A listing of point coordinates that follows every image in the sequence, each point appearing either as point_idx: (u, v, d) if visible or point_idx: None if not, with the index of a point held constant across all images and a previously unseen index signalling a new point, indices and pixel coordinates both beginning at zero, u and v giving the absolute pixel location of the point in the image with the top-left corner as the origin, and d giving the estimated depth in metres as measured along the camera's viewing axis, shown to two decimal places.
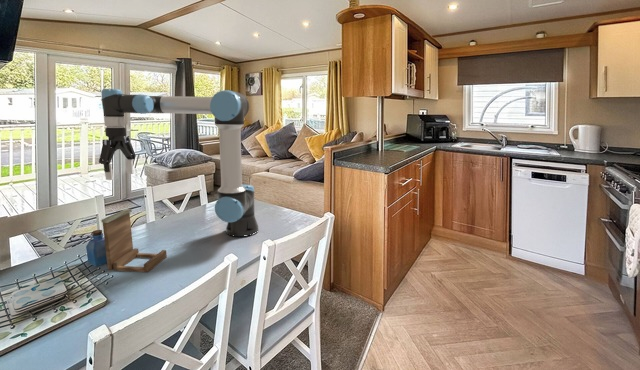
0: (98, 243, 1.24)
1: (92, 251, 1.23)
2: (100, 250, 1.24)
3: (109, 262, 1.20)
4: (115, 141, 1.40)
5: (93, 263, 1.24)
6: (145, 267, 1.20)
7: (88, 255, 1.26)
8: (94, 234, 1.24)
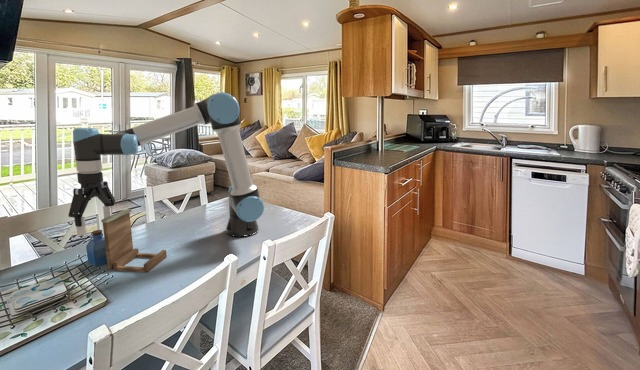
0: (98, 243, 1.24)
1: (92, 251, 1.23)
2: (100, 250, 1.24)
3: (109, 262, 1.20)
4: (89, 189, 1.19)
5: (93, 263, 1.24)
6: (145, 267, 1.20)
7: (88, 255, 1.26)
8: (94, 234, 1.24)
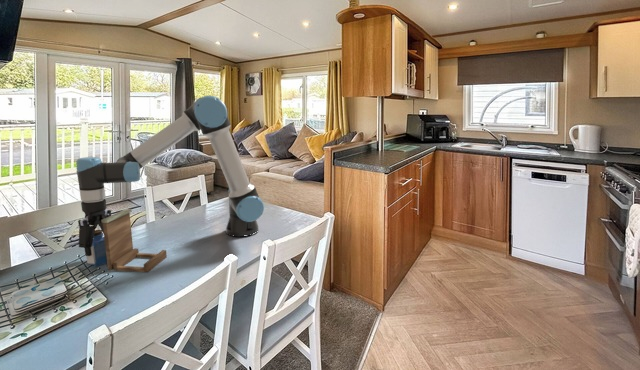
0: (98, 242, 1.24)
1: None
2: (100, 250, 1.24)
3: (109, 262, 1.20)
4: (93, 216, 1.21)
5: None
6: (145, 267, 1.20)
7: None
8: (94, 234, 1.24)
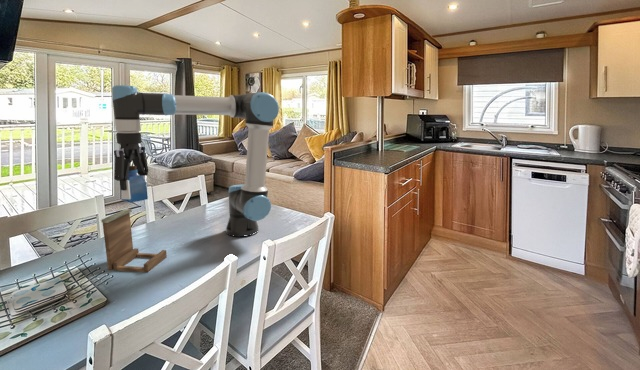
0: (132, 178, 1.17)
1: None
2: (135, 186, 1.18)
3: (109, 262, 1.20)
4: (128, 149, 1.15)
5: (127, 199, 1.18)
6: (145, 267, 1.20)
7: None
8: (129, 169, 1.17)
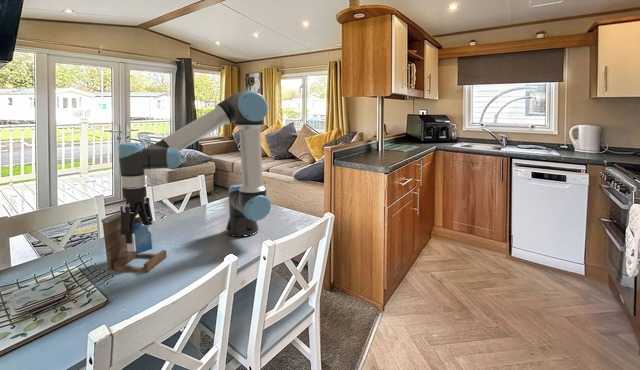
0: (137, 230, 1.22)
1: None
2: (140, 238, 1.22)
3: (109, 262, 1.20)
4: (134, 203, 1.19)
5: None
6: (145, 267, 1.20)
7: None
8: None
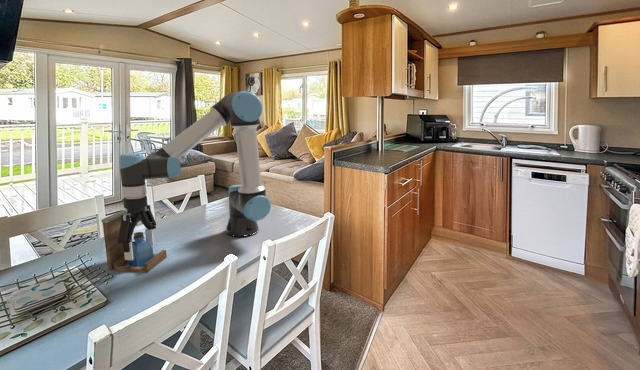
0: (139, 245, 1.23)
1: (134, 253, 1.22)
2: (142, 253, 1.23)
3: (109, 262, 1.20)
4: (135, 214, 1.20)
5: (135, 265, 1.23)
6: (145, 267, 1.20)
7: None
8: (136, 236, 1.23)
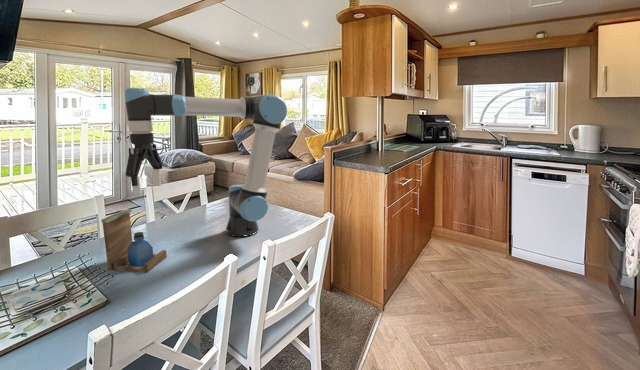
0: (139, 245, 1.23)
1: (134, 253, 1.22)
2: (142, 253, 1.23)
3: (109, 262, 1.20)
4: (142, 149, 1.20)
5: (135, 265, 1.23)
6: (145, 267, 1.20)
7: (129, 257, 1.25)
8: (136, 236, 1.23)
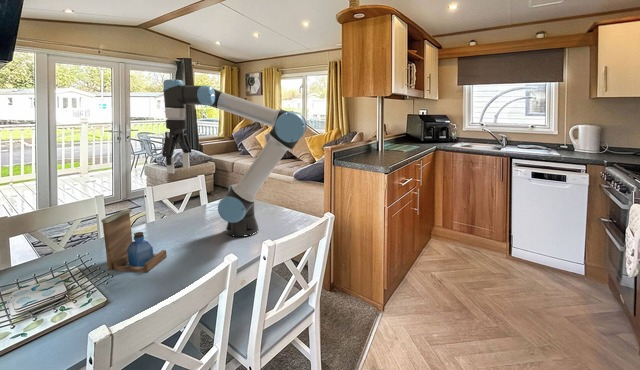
0: (139, 245, 1.23)
1: (134, 253, 1.22)
2: (142, 253, 1.23)
3: (109, 262, 1.20)
4: (176, 133, 1.37)
5: (135, 265, 1.23)
6: (145, 267, 1.20)
7: (129, 257, 1.25)
8: (136, 236, 1.23)
